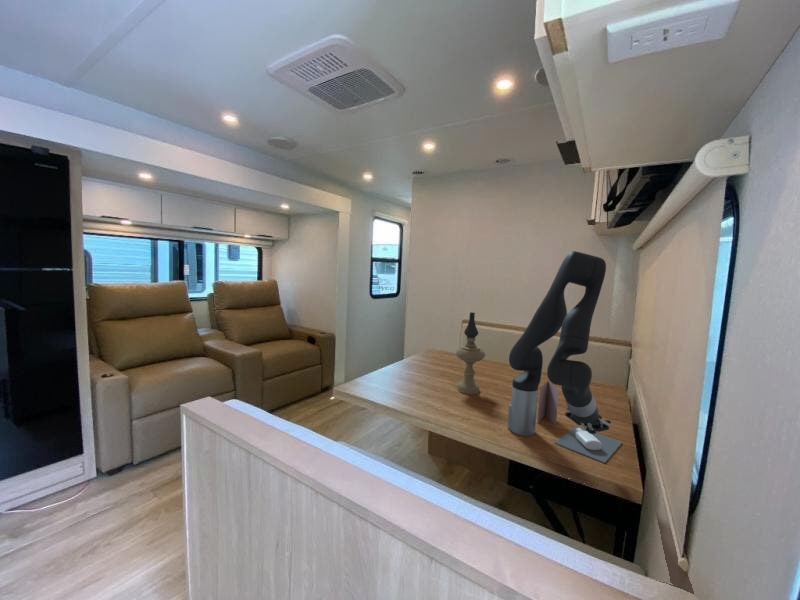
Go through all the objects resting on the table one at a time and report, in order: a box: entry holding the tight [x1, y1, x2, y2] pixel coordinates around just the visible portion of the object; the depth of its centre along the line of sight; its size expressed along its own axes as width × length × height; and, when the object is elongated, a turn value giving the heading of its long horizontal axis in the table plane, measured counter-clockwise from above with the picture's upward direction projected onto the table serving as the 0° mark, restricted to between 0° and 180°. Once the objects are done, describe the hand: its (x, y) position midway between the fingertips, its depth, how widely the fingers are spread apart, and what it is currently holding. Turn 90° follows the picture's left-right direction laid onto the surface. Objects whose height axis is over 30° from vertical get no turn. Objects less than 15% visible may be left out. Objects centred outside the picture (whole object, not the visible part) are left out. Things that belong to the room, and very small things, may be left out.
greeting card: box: [537, 380, 560, 427], centre depth 137 cm, size 11×7×15 cm, turn 141°
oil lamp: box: [454, 311, 486, 395], centre depth 168 cm, size 15×15×40 cm
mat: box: [554, 425, 623, 464], centre depth 120 cm, size 16×20×1 cm
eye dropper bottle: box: [576, 427, 602, 450], centre depth 121 cm, size 4×6×12 cm
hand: (592, 431), depth 107 cm, fingers closed
